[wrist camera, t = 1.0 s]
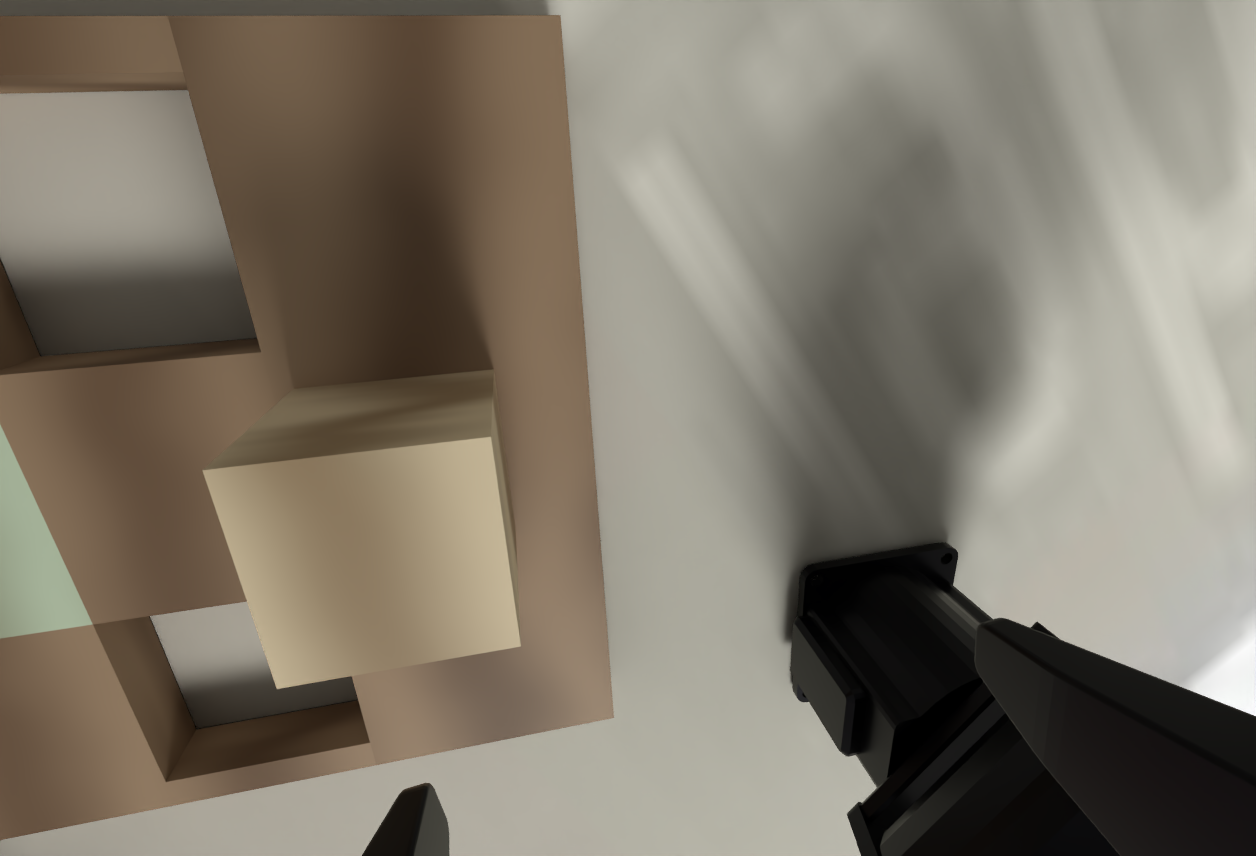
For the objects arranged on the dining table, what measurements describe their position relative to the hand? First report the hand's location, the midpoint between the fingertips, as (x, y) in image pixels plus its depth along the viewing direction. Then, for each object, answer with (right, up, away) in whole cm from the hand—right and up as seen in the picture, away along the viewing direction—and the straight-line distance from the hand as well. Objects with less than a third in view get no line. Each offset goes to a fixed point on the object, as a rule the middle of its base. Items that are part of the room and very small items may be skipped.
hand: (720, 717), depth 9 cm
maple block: (-7, +4, +7) cm, 11 cm away
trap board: (-13, +4, +8) cm, 15 cm away
